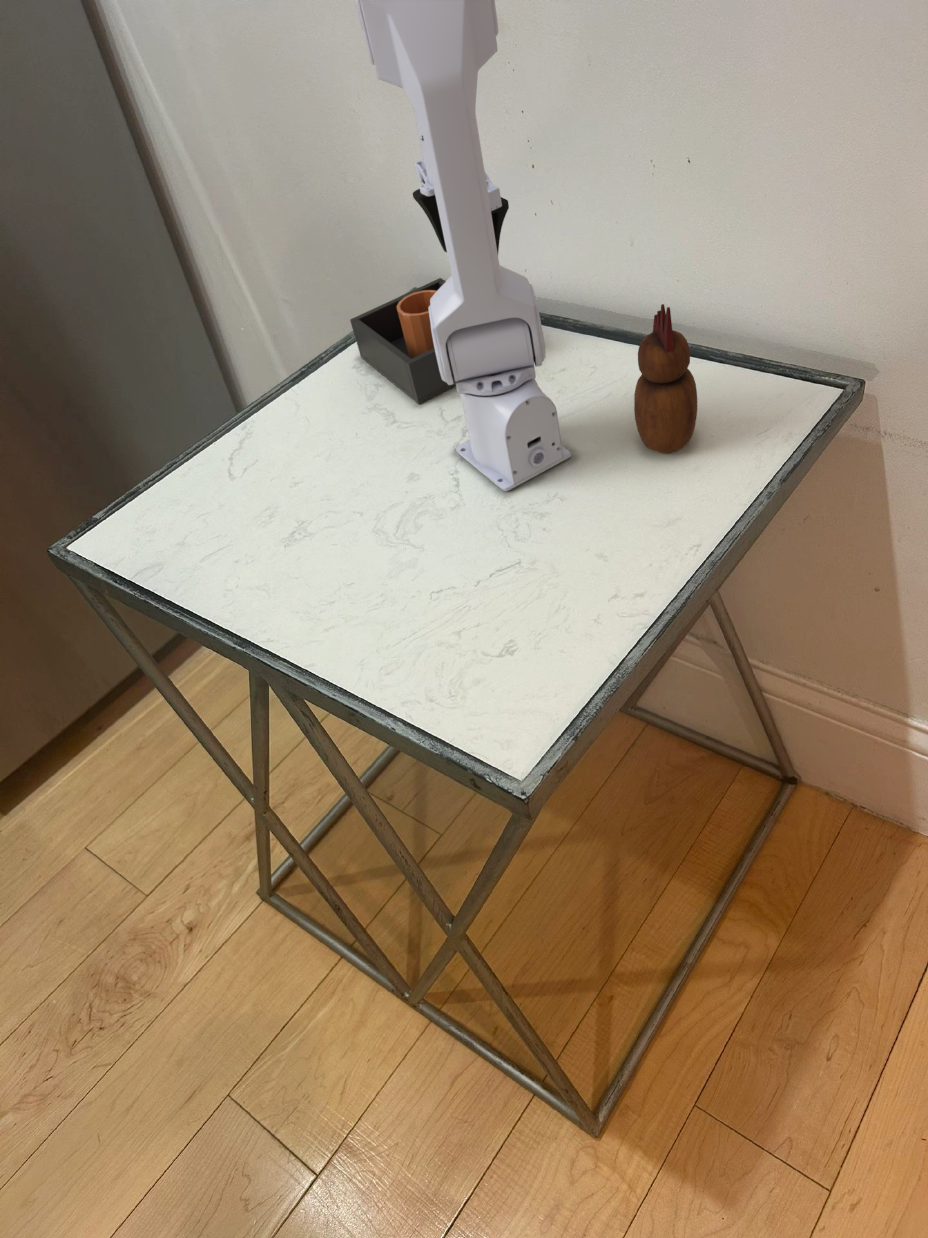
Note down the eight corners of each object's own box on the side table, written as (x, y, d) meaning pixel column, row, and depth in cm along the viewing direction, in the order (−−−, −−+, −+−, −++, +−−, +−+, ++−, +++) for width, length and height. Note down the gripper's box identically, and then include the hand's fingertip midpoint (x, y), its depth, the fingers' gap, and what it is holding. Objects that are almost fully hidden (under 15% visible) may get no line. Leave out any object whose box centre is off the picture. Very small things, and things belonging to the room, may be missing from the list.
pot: (465, 352, 109) (454, 300, 104) (424, 372, 108) (411, 320, 103) (441, 335, 113) (430, 284, 108) (401, 355, 111) (388, 304, 107)
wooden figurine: (696, 461, 88) (694, 315, 78) (634, 463, 90) (624, 320, 79) (698, 419, 93) (697, 275, 82) (639, 421, 94) (630, 281, 84)
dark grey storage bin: (513, 357, 107) (506, 316, 104) (419, 404, 104) (408, 364, 101) (448, 315, 117) (440, 277, 113) (360, 357, 114) (349, 319, 110)
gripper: (380, 130, 100) (409, 253, 110) (449, 160, 90) (474, 292, 100) (436, 107, 102) (459, 230, 111) (509, 134, 92) (528, 266, 102)
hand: (470, 258), depth 106 cm, fingers open, 7 cm apart
